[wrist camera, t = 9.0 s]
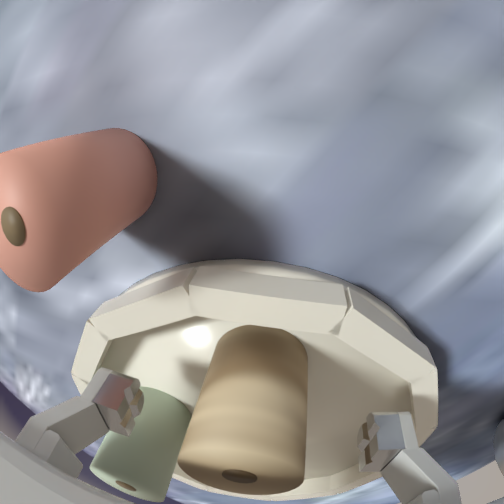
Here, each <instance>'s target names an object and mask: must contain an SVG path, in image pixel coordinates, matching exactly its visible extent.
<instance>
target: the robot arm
mask: <svg viewBox="0 0 504 504" xmlns="http://www.w3.org/2000/svg"><path fill="white" fill-rule="evenodd" d="M140 385H141V384H140V381H139V379H138V378H134V377H131V376H128V375H125V374H122V373H119V372H116V371H113V370H110V369H107V368H104V367H101V368H100V369H98V371H97V372H96V374H95V375H94V377H93V378H92V380H91V381H90V383H89V384H88V386H87V387H86V389H85V390H84V392H83V393H82V395H81V396H80V397H79V396H76V397H73V398H71V399H69V400H67V401H65V402H63V403H61V404H59V405H56V406H54V407H52V408H50V409H48V410H46V411H44V412H41V413H39V414H37V415H35V416H33V417H31V418H30V419H29V420H28V422H27V423H26V425H25V426H24V428H23V429H22V431H21V432H20V434H19V435H18V437H17V438H16V440H15V441H13V440H12V439H10V438H9V437H8V436H6V435H5V434H4V433H2V432H1V431H0V504H135V503H132V502H130V501H127V500H124V499H122V498H119V497H117V496H114V495H112V494H109V493H107V492H105V491H102V490H100V489H98V488H96V487H93V486H91V485H89V484H87V483H85V482H83V481H81V480H79V479H77V478H78V476H79V474H80V472H81V470H82V468H83V465H82V463H81V462H80V461H79V459H78V458H77V457H76V456H75V454H76V453H78V452H79V451H81V450H82V449H84V448H85V447H87V446H88V445H90V444H91V443H93V442H94V441H96V440H97V439H99V438H100V437H102V436H103V435H105V434H106V433H108V432H109V430H110V431H113V432H116V433H119V434H121V435H125V436H128V437H129V436H130V434H131V432H132V430H133V428H134V426H135V420H134V418H135V417H136V416H138V415H140V413H141V411H142V409H143V404H144V394H143V392H142V391H141V390H140V389H139V387H140ZM366 420H367V422H365V423H364V424H362V425H361V427H360V429H359V432H358V436H357V447H358V448H359V450H360V451H361V452H362V453H361V454H360V455H359V457H358V462H359V472H380V473H381V475H382V476H383V477H384V479H385V480H386V482H387V483H388V485H389V486H390V487H391V489H392V490H393V492H394V493H395V494H396V496H397V497H398V499H399V500H400V502H401V503H402V504H462V503H461V498H460V492H459V487H458V483H457V482H456V481H455V480H454V479H453V478H452V477H451V476H450V475H449V474H448V473H447V472H446V471H445V470H444V469H443V468H442V467H441V466H440V465H439V464H438V463H437V462H436V461H435V460H434V459H433V458H432V457H431V456H430V455H429V454H428V453H427V452H426V451H425V450H424V449H423V448H419V446H418V442H417V437H416V433H415V429H414V425H413V420H412V416H411V414H410V412H407V411H406V412H371V413H369V414H368V416H367V417H366ZM487 504H504V497H502V498H500V499H497V500H495V501H492V502H490V503H487Z"/></svg>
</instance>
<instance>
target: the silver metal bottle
mask: <svg viewBox="0 0 504 504" xmlns="http://www.w3.org/2000/svg"><path fill="white" fill-rule="evenodd" d="M493 446H494V455H495V460H496V462H497V464H498V466H499V468H500V470H501V472H502V474H503V475H504V418H503V420H502V421H501V422H500V423H499V425H498V426H497V428H496V431H495V435H494V439H493Z"/></svg>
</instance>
